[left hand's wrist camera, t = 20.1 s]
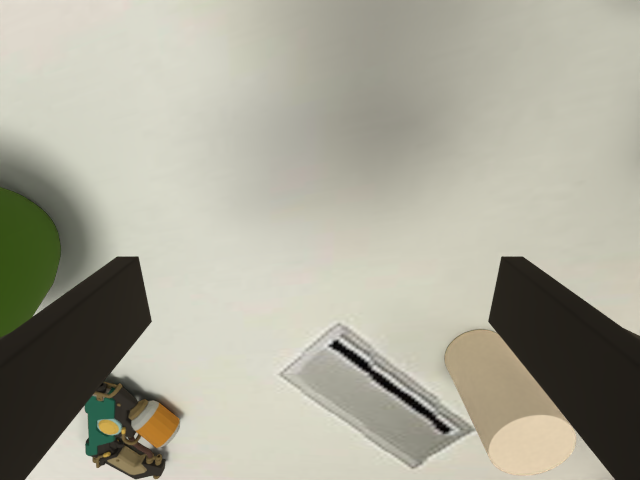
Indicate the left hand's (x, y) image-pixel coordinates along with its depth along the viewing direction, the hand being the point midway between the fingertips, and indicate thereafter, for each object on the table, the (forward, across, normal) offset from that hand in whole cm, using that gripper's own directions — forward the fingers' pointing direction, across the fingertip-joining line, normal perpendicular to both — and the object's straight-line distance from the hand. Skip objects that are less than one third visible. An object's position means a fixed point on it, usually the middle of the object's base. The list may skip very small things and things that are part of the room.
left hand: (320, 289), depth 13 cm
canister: (+26, +21, -24) cm, 41 cm away
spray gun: (+26, -28, -37) cm, 53 cm away
